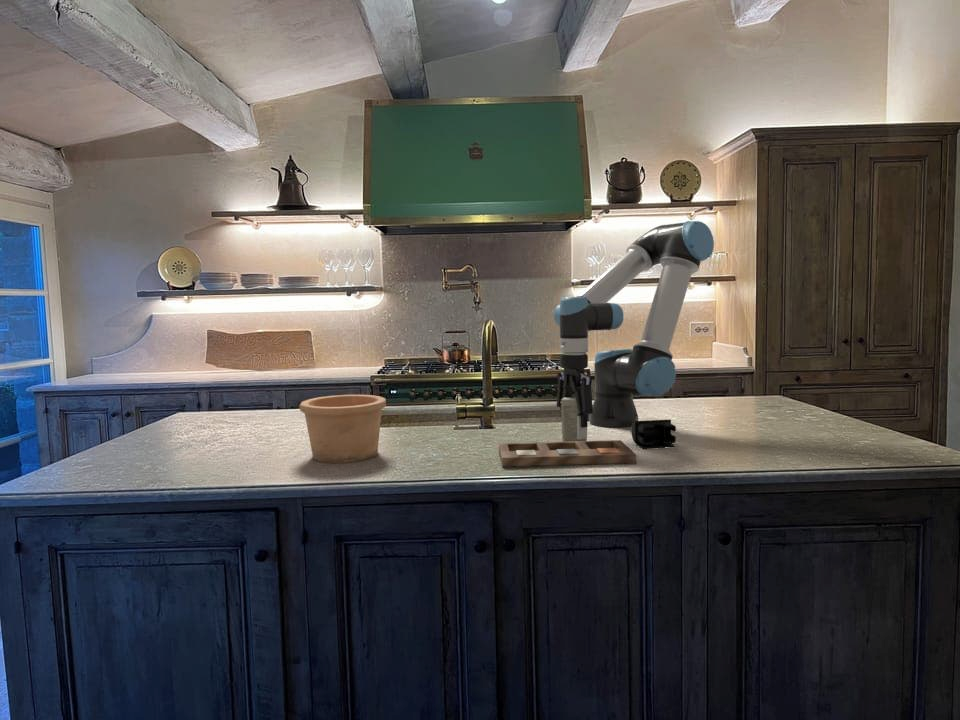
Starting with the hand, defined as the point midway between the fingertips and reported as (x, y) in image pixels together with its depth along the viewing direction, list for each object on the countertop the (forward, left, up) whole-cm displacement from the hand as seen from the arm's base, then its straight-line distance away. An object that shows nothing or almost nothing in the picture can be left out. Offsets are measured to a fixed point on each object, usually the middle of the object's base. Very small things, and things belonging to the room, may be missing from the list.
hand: (574, 435), depth 178 cm
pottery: (-16, -60, -2) cm, 62 cm away
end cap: (+14, +16, -2) cm, 21 cm away
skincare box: (0, 0, -2) cm, 2 cm away
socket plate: (+14, -12, -2) cm, 19 cm away
